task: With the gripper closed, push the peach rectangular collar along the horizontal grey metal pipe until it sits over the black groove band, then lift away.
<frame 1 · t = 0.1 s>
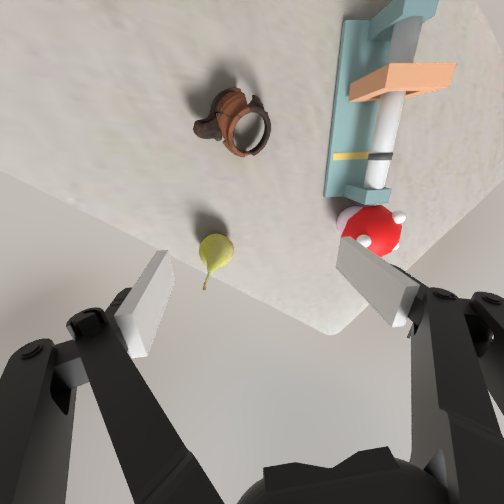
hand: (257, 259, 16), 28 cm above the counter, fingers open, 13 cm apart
fruit: (216, 244, 46), on the counter
pottery mug: (231, 125, 36), on the counter
peach rectangular collar: (394, 84, 31), point 6 cm above the counter, slide at -4.0 cm
pipe rig: (363, 122, 38), on the counter
mushroom: (350, 221, 47), on the counter
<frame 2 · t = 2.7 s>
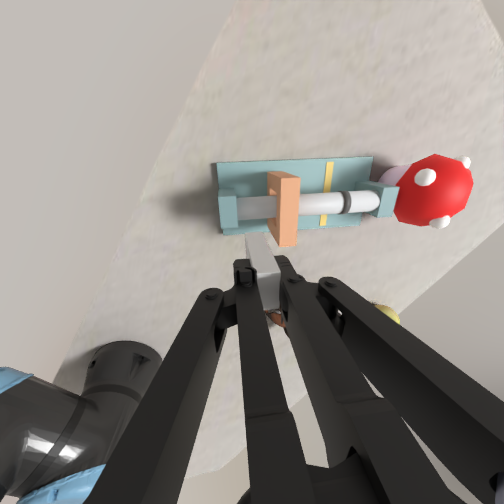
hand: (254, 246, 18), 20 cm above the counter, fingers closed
fruit: (373, 309, 52), on the counter
pottery mug: (283, 302, 48), on the counter
peach rectangular collar: (280, 206, 31), point 6 cm above the counter, slide at -4.0 cm
pipe rig: (293, 196, 37), on the counter
mushroom: (393, 184, 39), on the counter
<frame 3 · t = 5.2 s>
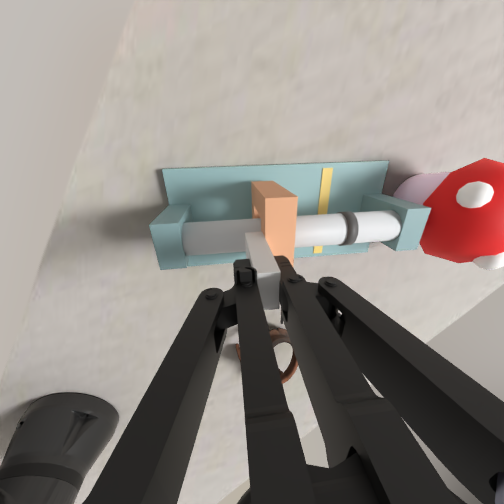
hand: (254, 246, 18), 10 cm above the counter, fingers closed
pottery mug: (264, 343, 38), on the counter
peach rectangular collar: (269, 233, 21), point 6 cm above the counter, slide at -2.4 cm, touching gripper
pipe rig: (277, 214, 27), on the counter
mushroom: (414, 198, 29), on the counter
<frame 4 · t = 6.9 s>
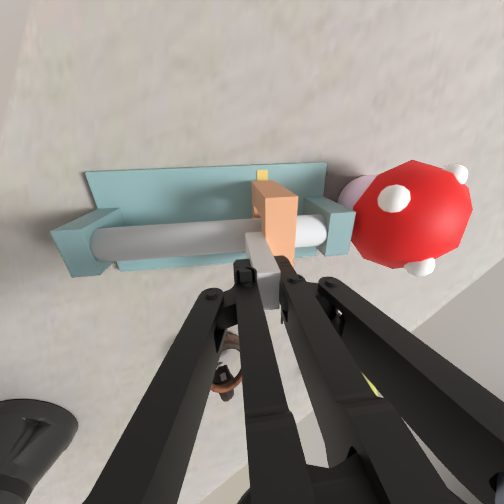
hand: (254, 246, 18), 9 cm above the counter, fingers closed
pottery mug: (218, 348, 37), on the counter
peach rectangular collar: (269, 233, 21), point 6 cm above the counter, slide at 5.3 cm, touching gripper
pipe rig: (218, 218, 26), on the counter
mushroom: (361, 201, 28), on the counter
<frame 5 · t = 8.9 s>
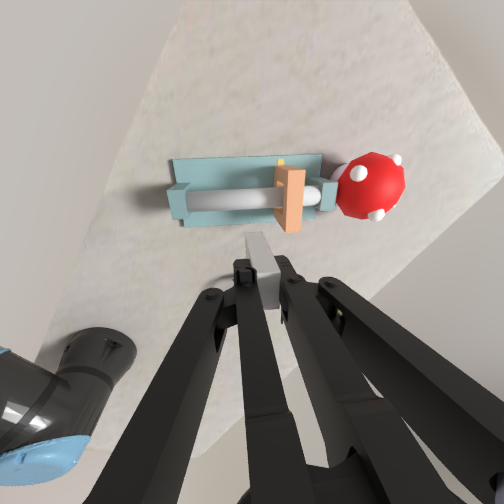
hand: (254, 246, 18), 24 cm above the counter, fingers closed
peach rectangular collar: (286, 196, 35), point 7 cm above the counter, slide at 5.4 cm
pipe rig: (250, 191, 40), on the counter
mushroom: (346, 181, 41), on the counter
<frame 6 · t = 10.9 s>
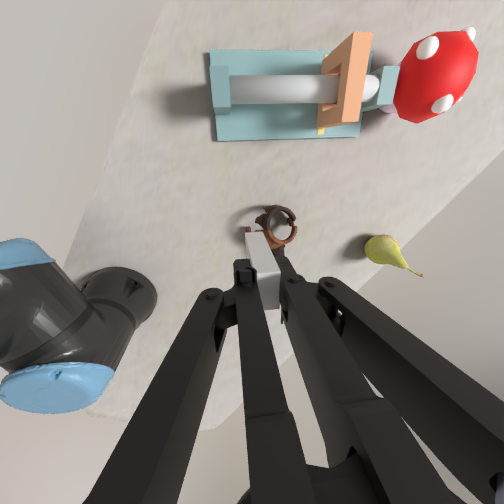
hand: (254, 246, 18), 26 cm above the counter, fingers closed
fruit: (372, 243, 51), on the counter
pottery mug: (269, 229, 46), on the counter
peach rectangular collar: (339, 89, 31), point 7 cm above the counter, slide at 5.4 cm
pipe rig: (290, 99, 36), on the counter
mushroom: (394, 91, 38), on the counter
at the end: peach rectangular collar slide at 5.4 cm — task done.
